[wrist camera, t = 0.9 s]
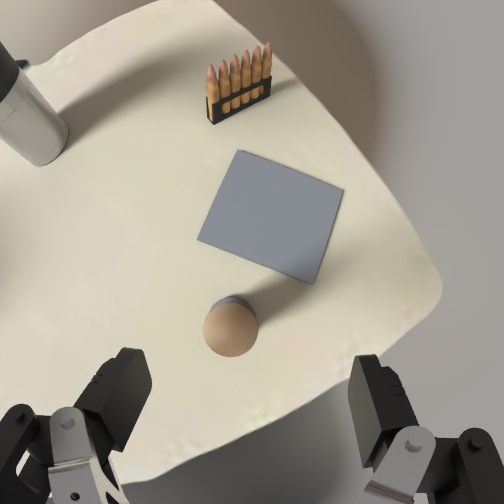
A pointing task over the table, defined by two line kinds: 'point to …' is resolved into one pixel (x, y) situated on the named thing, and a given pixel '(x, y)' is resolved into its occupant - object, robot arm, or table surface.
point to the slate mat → (272, 216)
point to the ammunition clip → (238, 84)
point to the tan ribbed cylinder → (230, 327)
